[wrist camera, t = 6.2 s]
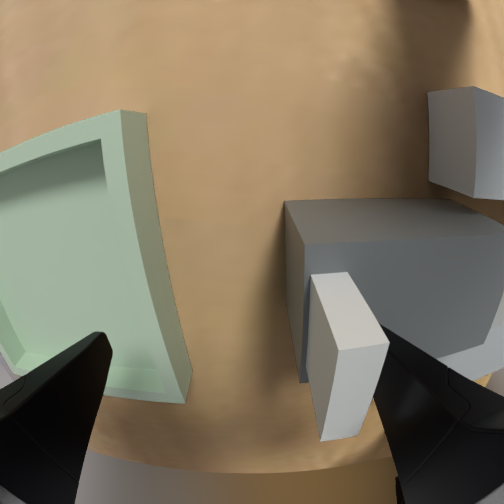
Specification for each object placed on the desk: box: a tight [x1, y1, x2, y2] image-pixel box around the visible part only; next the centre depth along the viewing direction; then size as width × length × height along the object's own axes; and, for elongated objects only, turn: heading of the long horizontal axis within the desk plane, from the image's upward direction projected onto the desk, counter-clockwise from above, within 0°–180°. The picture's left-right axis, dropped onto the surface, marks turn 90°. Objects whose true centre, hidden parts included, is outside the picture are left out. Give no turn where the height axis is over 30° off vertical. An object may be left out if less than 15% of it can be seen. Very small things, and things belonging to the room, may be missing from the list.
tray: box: [0, 110, 193, 404], centre depth 14 cm, size 16×16×3 cm
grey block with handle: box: [284, 198, 504, 442], centre depth 11 cm, size 6×10×10 cm, turn 94°
